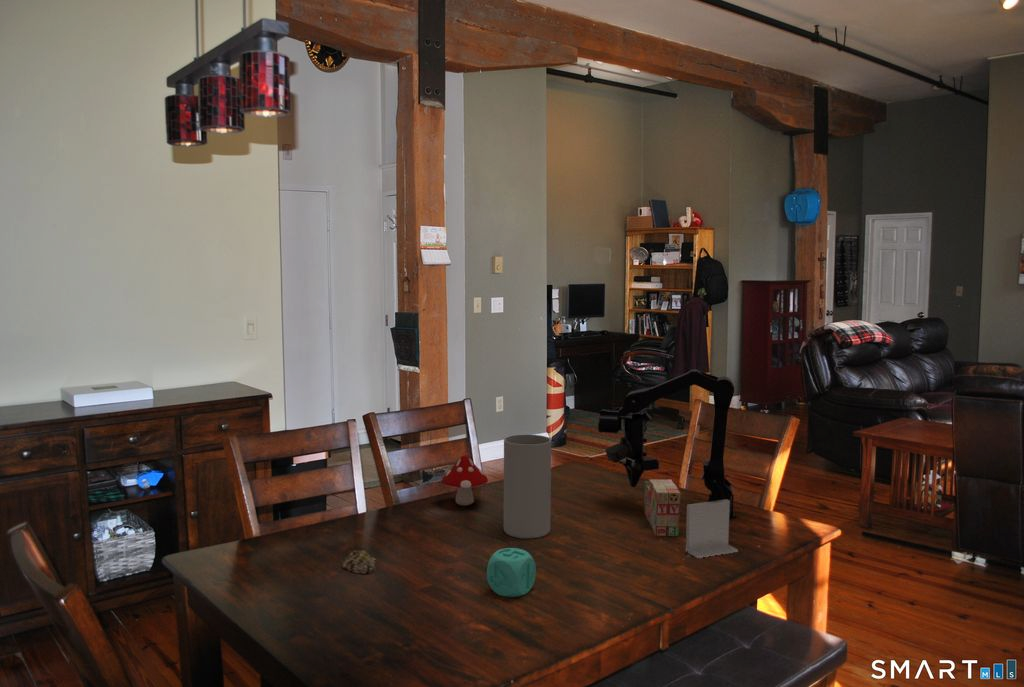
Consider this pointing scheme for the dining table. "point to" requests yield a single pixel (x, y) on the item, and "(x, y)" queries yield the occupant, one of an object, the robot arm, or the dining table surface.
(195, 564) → the dining table surface
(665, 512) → the stack of blocks
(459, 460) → the decorative mushroom
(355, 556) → the mineral rock
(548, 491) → the cylinder vase
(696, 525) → the bookend
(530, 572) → the decorative dice
